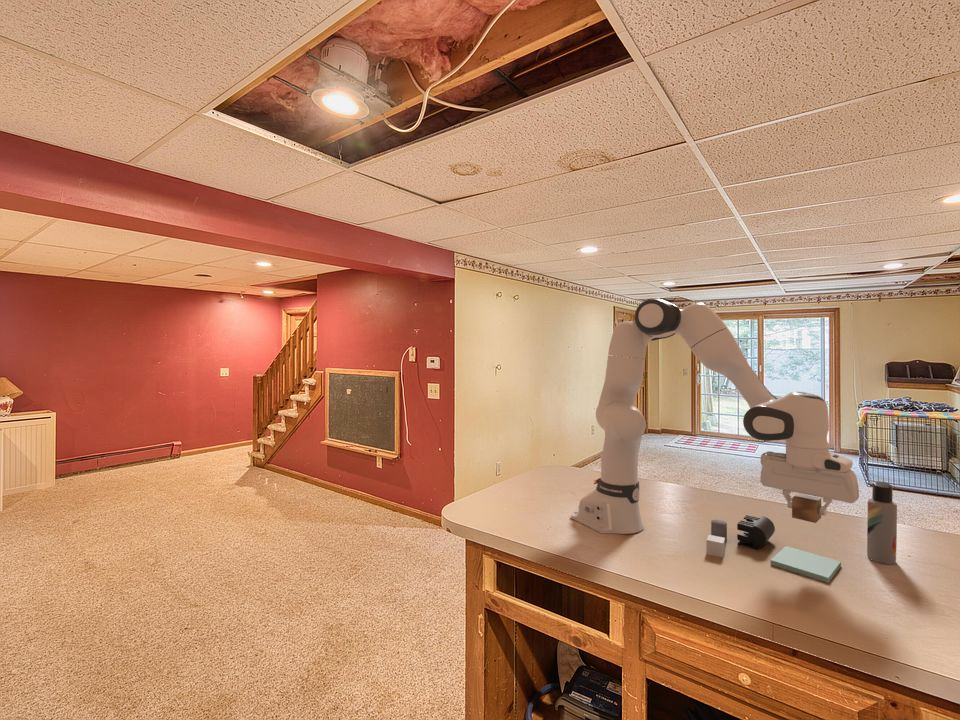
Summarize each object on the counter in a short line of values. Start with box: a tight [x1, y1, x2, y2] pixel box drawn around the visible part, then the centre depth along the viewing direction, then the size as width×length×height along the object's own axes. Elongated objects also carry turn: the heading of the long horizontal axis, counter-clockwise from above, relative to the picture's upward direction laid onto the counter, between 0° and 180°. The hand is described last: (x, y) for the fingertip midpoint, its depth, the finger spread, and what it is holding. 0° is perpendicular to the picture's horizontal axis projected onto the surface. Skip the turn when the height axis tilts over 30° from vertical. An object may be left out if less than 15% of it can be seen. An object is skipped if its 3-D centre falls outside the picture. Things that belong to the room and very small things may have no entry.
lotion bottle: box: [866, 481, 898, 565], centre depth 118 cm, size 6×6×20 cm
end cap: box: [736, 514, 776, 550], centre depth 129 cm, size 10×7×7 cm
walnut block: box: [791, 493, 822, 524], centre depth 115 cm, size 5×5×5 cm
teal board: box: [770, 545, 842, 583], centre depth 116 cm, size 12×12×1 cm
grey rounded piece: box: [710, 519, 728, 543], centre depth 132 cm, size 4×4×5 cm
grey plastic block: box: [705, 534, 726, 559], centre depth 123 cm, size 4×4×4 cm
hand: (806, 511), depth 115 cm, fingers closed on walnut block, 5 cm apart
